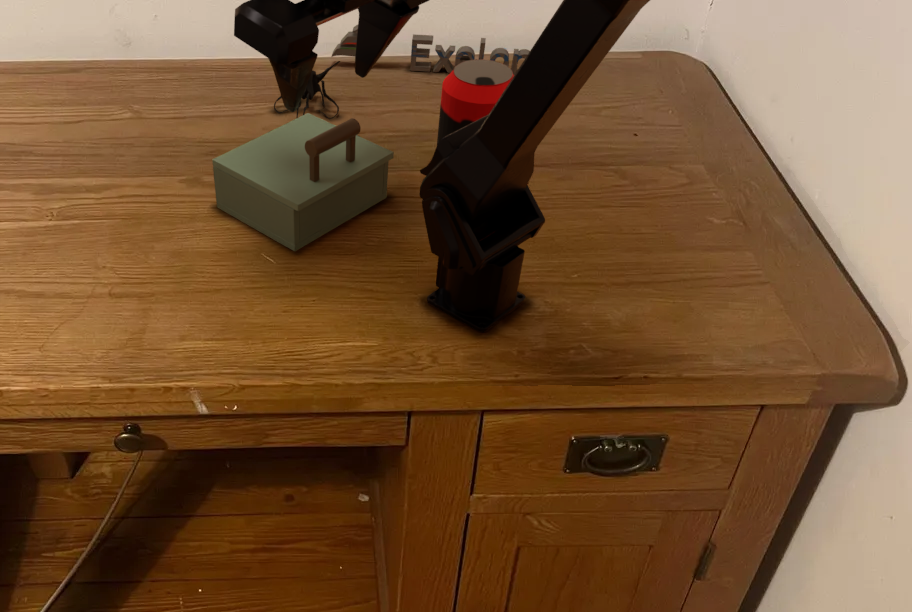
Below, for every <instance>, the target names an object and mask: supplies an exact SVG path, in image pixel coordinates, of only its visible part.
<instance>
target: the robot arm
mask: <svg viewBox="0 0 912 612" xmlns="http://www.w3.org/2000/svg"><path fill="white" fill-rule="evenodd" d="M429 1H430V0H300V1H298V2H296V3H295V2H293V1H291V0H247V1H244V2H242V3H241V4H240V5H238V6H237V7H236V8H235V9H234V22H233V23H234V24H233V36H234V37H235V38H236V39H238V40H240V41H241V42H243V43H244V44H246V45H247V46H249V47H250V48H251V49H253V50H255V51H257V52H258V53H260V54H262V55H263V56H264V57H265V58H267V59H268V61H269V63H270V65H271V68H272V70H273V74H274V77H275V80H276V84H277V87H278V90H279V93H280V96H281V97H282V98H281V99H282V104H283V106H284V108H285V110H287V111H289V112H291V113H294V112H297V107H298V105H299V103H300V101H301V102H302V100H303V99H302V96H303V93H304V91H305V88H306V85H307V83H308V80H309V77H310V75H311V72H312V70H313V69H314V67H315V64H316V61H317V58H318V53H316V52H315V51H314V49H315V47H316V46H317V45H318V43H319V34H320V29H319V27H318V26H321V25H324V24H326V23H328V22H330V21H332V20H335V19H337V18H339V17H342V16H344V15H346V14H348V13H351V12H353V11H356V10H358V23H357V25H358V32H357V43H356V53H355V57H354V72H355V74H356V76H359V77H360V78H362V79H363V78H366V77H367V76H368V74H369V73H370V72H371V71H372V69H373V67H375V65H376V64H377V63H378V61H379V59H380V58H381V57H382V56H383V54H384V53H385V52H386V50H387V48H388V47H389V46H391V43H392V42H393V41H394V40H395V38H396V37H397V36H398V35H399V34H400V32H401V31H402V29H403V28H404V27H405V26H406V24H407V23H408V22H410V21H409V20H410V19H411V18H412V17H413V16H414V15H416V14H417V13H418V12H419V10H420V5H422V4H425V3H427V2H429ZM649 2H651V0H562V2H561V3H560V4H559V6H558V8H557V9H556V11H555V12H554V14H553V15H552V16H551V18H550V19H549V21H548V23H547V24H546V26H545V27H544V29H543V31H542V32H541V34H540V35H539V37H537V40H536V41H535V43H534V45H533V46H532V47H531V49H530V50H529V51H530V52H529V54H528V55H527V57H526V58H525V59H524V60H522V63H521V64H520V66H519V67H518V68H517V71H516V73H515V75H514V77H513V78H512V80H511V81H510V83H509V84H508V86H507V87H506V89H505V90H504V92H503V93H502V95H501V96H500V98H499V99H498V101H497V103H496V104H495V106H494V107H493V109H492V110H491V112H490V113H489V114H488V115H486V116H484V117H482V118H481V119H479V120H477V121H475V122H473V123H471V124H469V125H467V126H465V127H463V128H461V129H459V130H457V131H455V132H453V133H451V134H449V135H447V136H445V137H443V138H442V139H441V141H440V142H439V144H438V145H437V144H436V147H435V150H434V153H433V155H432V158H431V160H430V162H429V163H428V164H427V165H426V166H424V167H423V168H421V169H420V170H419V173H420V174H421V175H423V176H425V177H424V178H423V179H422V181H421V184H420V186H419V194H418V195H419V198H420V199H421V208H422V212H423V218H424V222H425V228H426V233H427V239H428V244H429V248H430V252H431V253H432V254H433V255H434V256H436V257H437V264H436V273H435V287H436V288H437V289H436V290H433V292H431V293H429V294H428V295H427V296H426V303H427V304H428V305H430V306H432V307H434V308H436V309H437V310H439V311H441V312H443V313H444V314H446V315H448V316H449V317H451V318H453V319H455V320H457V321H459V322H460V323H462V324H464V325H466V326H468V327H470V328H472V329H474V330H475V331H477V332H478V333H486V332H487V331H489V330H490V329H491V328H493V327H494V326H495V325H497V324H498V323H499V322H501V321H503V319H505V318H506V317H507V316H508V315H510V314H511V313H512V312H514V311H515V310H516V309H517V308H519V307H521V306H522V305H523V304H524V303H525V302H526V295H525V294H523V293H522V292H520V291H519V285H520V279H521V273H522V268H523V262H524V257H525V252H526V251H525V249H523V248H521V247H519V246H520V245H521V244H523V243H525V242H526V241H527V240H529V239H534V237H536V236H537V235H538V234H539V232H540V231H541V229H542V227H543V226H544V224H545V223H546V218H545V215H544V214H543V212H542V210H541V208H540V206H539V204H538V202H537V200H536V198H535V196H534V195H533V193H532V191H531V189H530V187H529V185H528V184H529V182H530V180H531V178H532V176H533V174H534V171H535V153H536V151H537V149H538V146H539V145H540V144H541V143H542V142H543V140H544V139H545V138H546V136H547V135H548V134H549V132H550V130H551V129H552V128H553V127H554V126H555V124H556V123H557V121H558V120H559V119H560V117H561V116H562V115H563V114H564V112H565V111H566V109H567V108H568V107H569V105H570V104H571V103H572V102H573V100H574V99H575V97H576V96H577V95H578V93H579V92H580V91H581V90H582V88H583V87H584V85H586V83H587V82H588V80H589V79H590V78H591V76H592V75H593V74H594V72H595V71H596V70H597V68H598V67H599V65H601V63H602V61H603V60H604V59H605V58H606V56H607V55H608V54H609V52H611V50H612V49H613V47H614V46H615V45H616V43H617V42H618V40H619V39H620V38H621V36H623V34H624V32H626V30H627V28H628V27H629V26H630V24H631V23H632V22H633V21H634V19H636V17H637V15H638V14H639V12H640V11H641V10H642V9H643V8H644V7H645V6H646V5H647V4H648V3H649ZM400 30H401V31H400Z"/></svg>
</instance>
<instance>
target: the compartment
mask: <svg viewBox="0 0 912 612" xmlns="http://www.w3.org/2000/svg"><path fill="white" fill-rule="evenodd" d="M389 162H390V160H389V161H388V162H386V163H384V164H382V165H380V166H379V167H377V168H375V169H373V170H371V171H370V172H368V173H366V174H364V175H362V176H361V177H359V178H357V179H355V180H354V181H352V182H350V183H348V184H346V185H345V186H343V187H341V188H339V189H337V190H336V191H334V192H332V193H330V194H328V195H327V196H325V197H323V198H321V199H319V200H318V201H316V202H314V203H312V204H311V205H309V206H307V207H305V208H303V209H302V210H300V211H297V210H295V209H293V208H291V207H289V206H287V205H285V204H283V203H282V202H280V201H278V200H276V199H274V198H272V197H270V196H269V195H267V194H265V193H263V192H261V191H259V190H257V189H256V188H254V187H252V186H250V185H248V184H246V183H244V182H242V181H241V180H239V179H237V178H235V177H233V176H231V175H229V174H228V173H226V172H224V171H222V170H220V169H218V168H216V167H215V166H213V165H212V172H213V180H214V183H213V184H214V193H215V201H216V202H215V203H216V208H217V209H219V210H221V211H223V212H225V213H226V214H228V215H229V216H231V217H233V218H235V219H237V220H238V221H240V222H242V223H243V224H245V225H247V226H249V227H250V228H253V230H256V231H258V232H259V233H261V234H263V235H265V236H267V237H268V238H271V239H272V240H273V241H275V242H277V243H279V244H280V245H282V246H284V247H285V248H288V249H289V250H291V251H293V252H297V251H299V250H301V249H302V248H303V247H306V246H307V245H309V244H311V243H313V242H315V240H317V239H319V238H321V237H322V236H324V235H325V234H327V233H329V232H331V231H332V230H334V229H336V228H338V227H340V226H341V225H342V224H344V223H346V222H348V221H350V220H352V219H353V218H354V217H356V216H358V215H360V214H362V213H364V212H365V211H367V210H369V209H370V208H371V207H374V206H375V205H376V204H378V203H381V202H382V201H383V200H385V199H387V196H388V181H389V180H388V179H389Z"/></svg>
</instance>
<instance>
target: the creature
mask: <svg viewBox="0 0 912 612" xmlns="http://www.w3.org/2000/svg"><path fill="white" fill-rule="evenodd" d="M339 63H341V61H340V60H339V61H337V62H335V63H334V64H332V65H331V66H329V67H328V68H326V69H324V71H322V72H320V73H318V74H317V72H316V70H312V72H311V75H310V77H309V80H308V83H307V85H306V88H305V91H304V93H303V96H302V99H301V101H300V103H299V105H298V107H297V109H296V118H295V119H297V118H299V109H300V107H301V106H302V100H305V106H304V108H303V111H302V116H303V115H305V114H306V110H307V109H308V108H310V101H312V100H314V97H315V96H316V95H317V93H320V95H321V103H322V106H323V108H326V106H325V98H326V99H327V100H328V101H330V102H331V103H333V104H334V106H335V107H336V108H337V109H336V110H337V111H336V114H335V115H334V116H332V117H328V116H327V114H326V113H324V112H323V111H321V109H319V110H318V109H317V110H316V112H319V113H321V114H323V115H324V116H325V118H327V119H335V117H337V116H338V114H339V112H340V107H339V105H338V103H337V102H336V101H335V100H334V99H333V98H331V96H330V95H328V94H327V92H326V88H325V81H324V80H323V79H324V78H325V77H326V75H327V74H329V72H330V70H332V69H334V67H336V66H337V65H338V64H339ZM319 83H321V85H320V84H319ZM281 99H282V97H281V95H280V96H279V97H277V99H276V100H275V102H274V104H273V109H274V111H275V113H277V114H283V113H285V112H288V109H285V110H283V111H278V110H277V108H276V104H277V102H278V101H280V100H281Z"/></svg>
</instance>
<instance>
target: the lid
mask: <svg viewBox="0 0 912 612" xmlns="http://www.w3.org/2000/svg"><path fill="white" fill-rule="evenodd" d="M361 130H362V129H361V124H360V122H359V121H358V120H357V119H356V118H355V117H354V118H352V117H351V118H349V119H347V120H345V121H343V122H341V123H339V124H337V125H335V124H333V123H331V122H330V121H327V120H325V119H322V118H321V117H318V116H316V115H314V114H311V113H309V112H307V113H305V114H304V115H303V114H302V115H301V116H298V118H294V119H292V120H290V121H289V122H286V123H284V124H282V125H280V126H278V127H276V128H274V129H272V130H270V131H268V132H266V133H264V134H262V135H259V136H257V137H256V138H253V139H251V140H250V141H247V142H246V143H243V144H241V145H239V146H237V147H235V148H233V149H231V150H228V151H227V152H225V153H223V154H220V155H218V156H216V157H214V158H212V159H211V161H212V167H213V166H215V167H216V168H218V169H220V170H222V171H224V172H226V173H228V174H229V175H231V176H233V177H235V178H237V179H239V180H241V181H242V182H244V183H246V184H248V185H250V186H252V187H254V188H256V189H257V190H259V191H261V192H263V193H265V194H267V195H269V196H270V197H272V198H274V199H276V200H278V201H280V202H282V203H283V204H285V205H287V206H289V207H291V208H293V209H295V210H297V211H300V210H302V209H303V208H305V207H307V206H309V205H311V204H312V203H314V202H316V201H318V200H319V199H321V198H323V197H325V196H327V195H328V194H330V193H332V192H334V191H336V190H337V189H339V188H341V187H343V186H345V185H346V184H348V183H350V182H352V181H354V180H355V179H357V178H359V177H361V176H362V175H364V174H366V173H368V172H370V171H371V170H373V169H375V168H377V167H379V166H380V165H382V164H384V163H386V162H388V161H389V162H390V161H391V160H393V159H394V157H395V152H394V151H392V150H390V149H388V148H386V147H383V146H382V145H379V144H377V143H375V142H373V141H371V140H368V139H366V138H364V137H362V136H359V134H360V133H361Z"/></svg>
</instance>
